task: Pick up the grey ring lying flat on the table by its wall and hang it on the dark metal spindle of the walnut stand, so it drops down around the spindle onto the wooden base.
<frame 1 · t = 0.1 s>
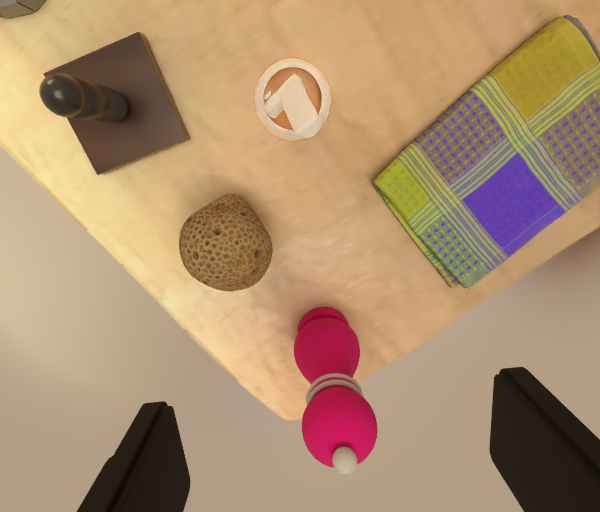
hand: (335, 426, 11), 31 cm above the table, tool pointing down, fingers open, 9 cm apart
dish towel: (501, 163, 39), on the table
white lever handle: (292, 101, 37), on the table
spindle: (123, 108, 37), on the table
natural sponge: (233, 233, 41), on the table
pepper mill: (323, 329, 45), on the table
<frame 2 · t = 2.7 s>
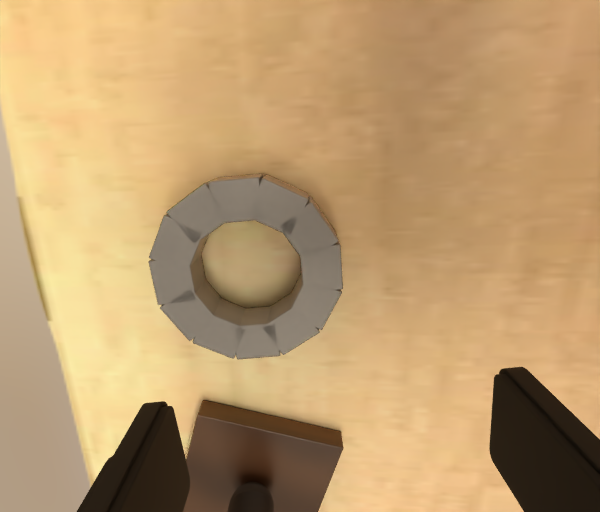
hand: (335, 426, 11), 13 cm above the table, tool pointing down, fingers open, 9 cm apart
spindle: (256, 469, 27), on the table
grey ring: (252, 262, 22), on the table
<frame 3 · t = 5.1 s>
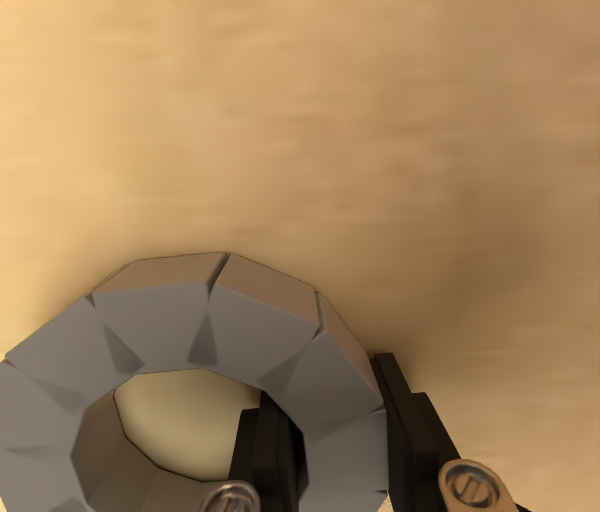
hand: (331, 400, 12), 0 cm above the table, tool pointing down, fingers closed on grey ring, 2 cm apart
grey ring: (211, 407, 12), on the table, touching gripper
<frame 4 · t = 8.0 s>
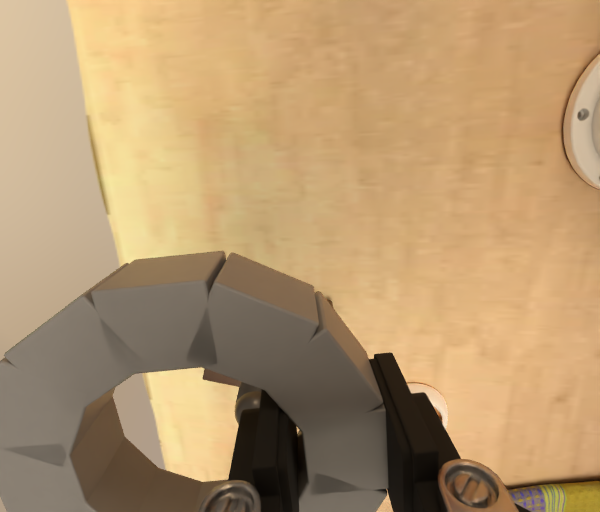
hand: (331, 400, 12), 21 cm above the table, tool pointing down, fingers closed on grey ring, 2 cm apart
white lever handle: (409, 413, 38), on the table
spindle: (267, 336, 35), on the table
grey ring: (210, 407, 12), point 21 cm above the table, touching gripper
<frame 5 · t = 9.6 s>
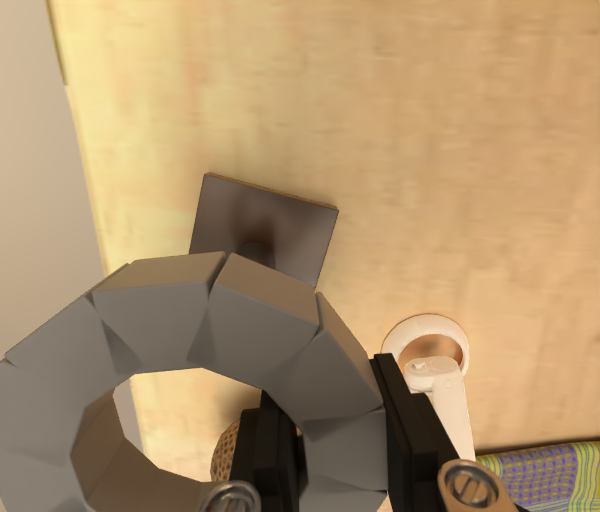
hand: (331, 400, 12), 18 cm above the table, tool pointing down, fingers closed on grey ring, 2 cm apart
dish towel: (545, 505, 38), on the table
white lever handle: (423, 352, 32), on the table
spindle: (258, 251, 29), on the table
grey ring: (210, 407, 12), point 18 cm above the table, touching gripper
natural sponge: (272, 421, 34), on the table
when the fingers open (15 cm above the table, at t = 10.9 s): grey ring drops 13 cm, resting on spindle.
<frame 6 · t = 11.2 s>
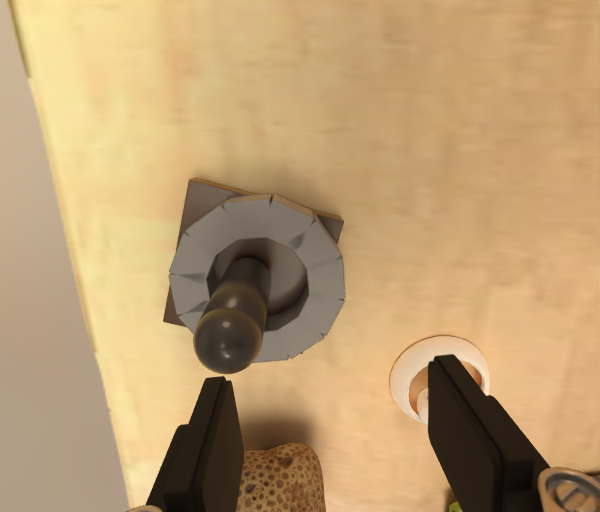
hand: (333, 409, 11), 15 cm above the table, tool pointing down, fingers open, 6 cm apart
white lever handle: (437, 378, 29), on the table
spindle: (252, 266, 26), on the table
grey ring: (261, 273, 24), point 1 cm above the table, touching spindle
natural sponge: (268, 453, 31), on the table
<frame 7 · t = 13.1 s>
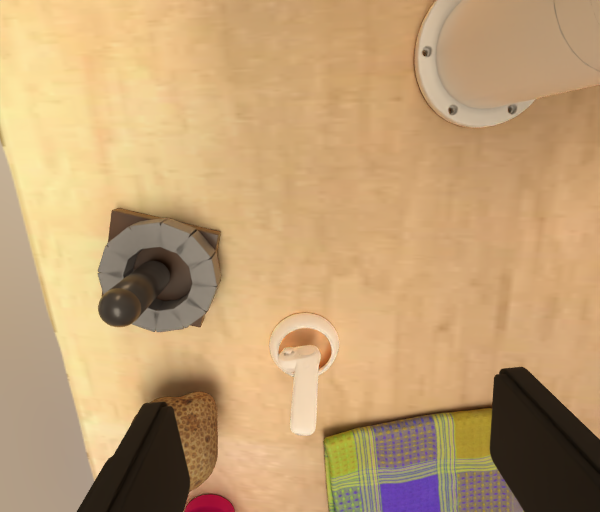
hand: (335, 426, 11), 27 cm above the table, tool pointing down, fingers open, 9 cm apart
dish towel: (422, 469, 46), on the table
white lever handle: (304, 344, 40), on the table
spindle: (163, 267, 37), on the table
grey ring: (166, 271, 36), point 1 cm above the table, touching spindle
natural sponge: (187, 405, 42), on the table
pepper mill: (210, 511, 46), on the table
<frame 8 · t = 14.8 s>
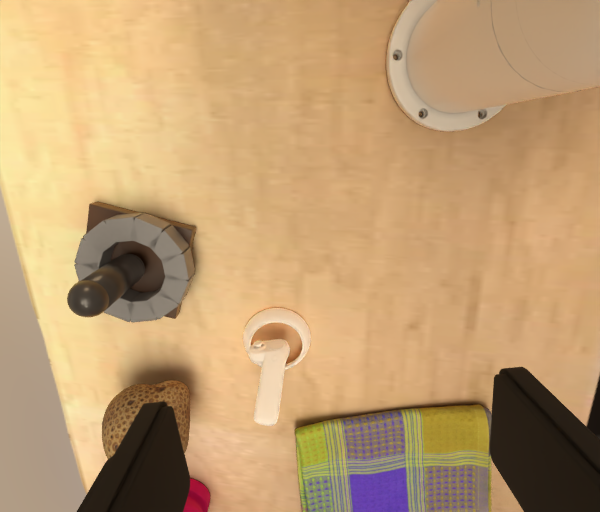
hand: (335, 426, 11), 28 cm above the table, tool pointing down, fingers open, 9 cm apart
dish towel: (392, 461, 47), on the table
white lever handle: (277, 337, 42), on the table
spindle: (140, 259, 38), on the table
grey ring: (141, 264, 37), point 1 cm above the table, touching spindle
natural sponge: (164, 392, 43), on the table
pepper mill: (186, 494, 48), on the table
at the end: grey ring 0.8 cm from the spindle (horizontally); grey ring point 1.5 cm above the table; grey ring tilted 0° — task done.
